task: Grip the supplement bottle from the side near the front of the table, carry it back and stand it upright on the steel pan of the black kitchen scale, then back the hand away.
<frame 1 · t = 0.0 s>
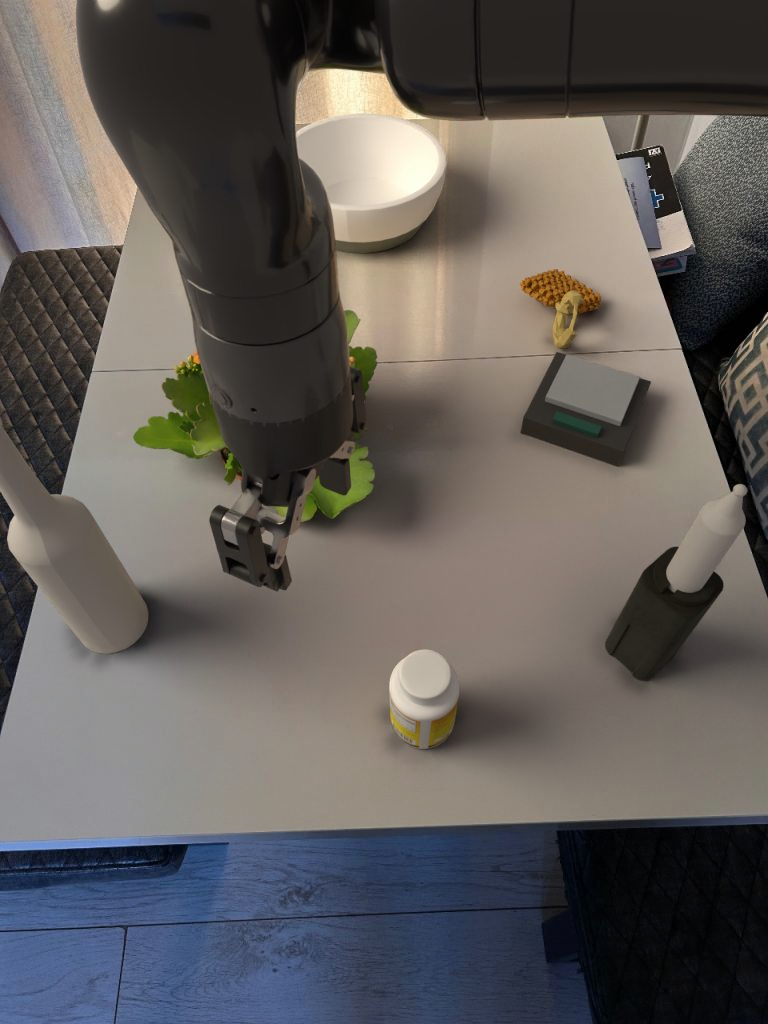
hand: (307, 533, 53), 20 cm above the table, tool pointing down, fingers open, 8 cm apart
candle: (638, 649, 70), on the table
bowl: (363, 216, 107), on the table
ornament: (558, 318, 95), on the table
potted flower: (263, 449, 83), on the table
supplement bottle: (421, 719, 66), on the table
scale: (583, 414, 85), on the table
bottle: (114, 622, 72), on the table
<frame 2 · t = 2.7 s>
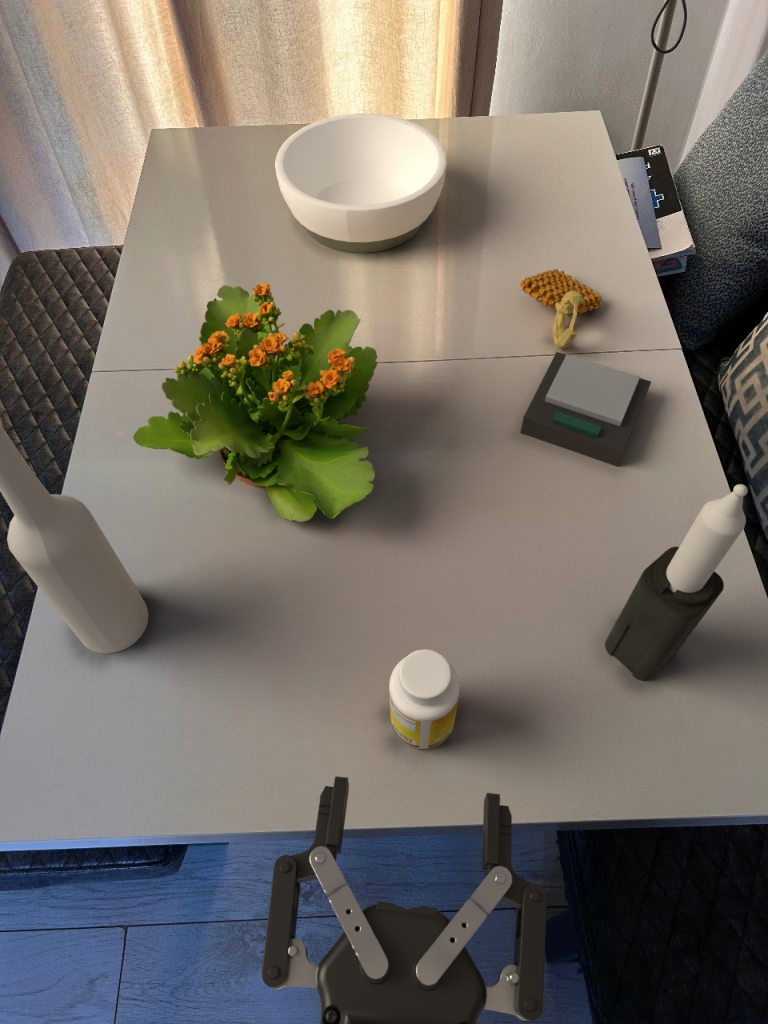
hand: (416, 788, 43), 20 cm above the table, tool horizontal, fingers open, 8 cm apart
nothing on the table moved.
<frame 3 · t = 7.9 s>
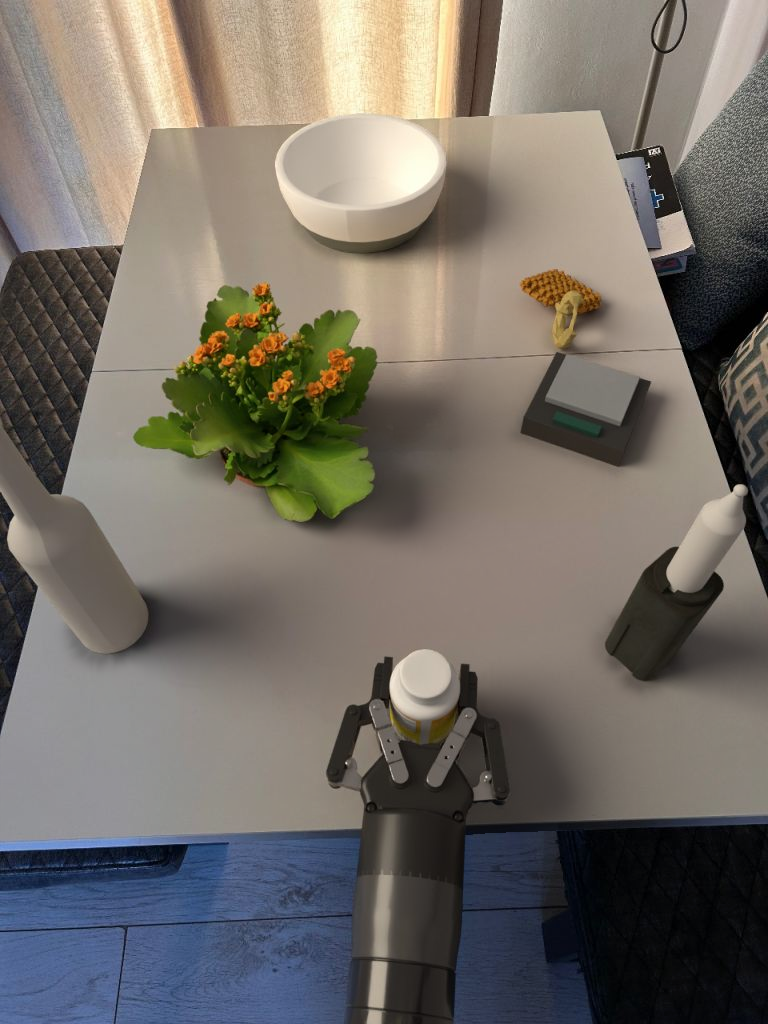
hand: (426, 664, 63), 6 cm above the table, tool horizontal, fingers closed on supplement bottle, 5 cm apart
supplement bottle: (421, 719, 66), on the table, touching gripper
everything else where it was.
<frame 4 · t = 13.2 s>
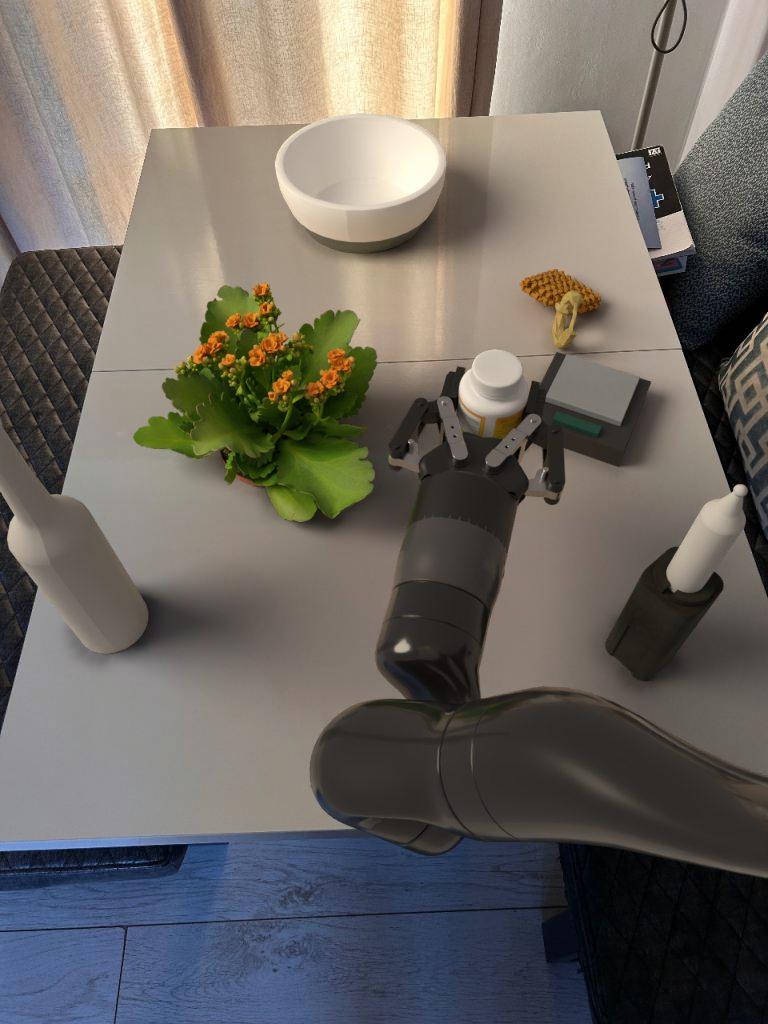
hand: (497, 381, 64), 18 cm above the table, tool horizontal, fingers closed on supplement bottle, 5 cm apart
supplement bottle: (483, 449, 68), point 12 cm above the table, touching gripper
everything else where it was.
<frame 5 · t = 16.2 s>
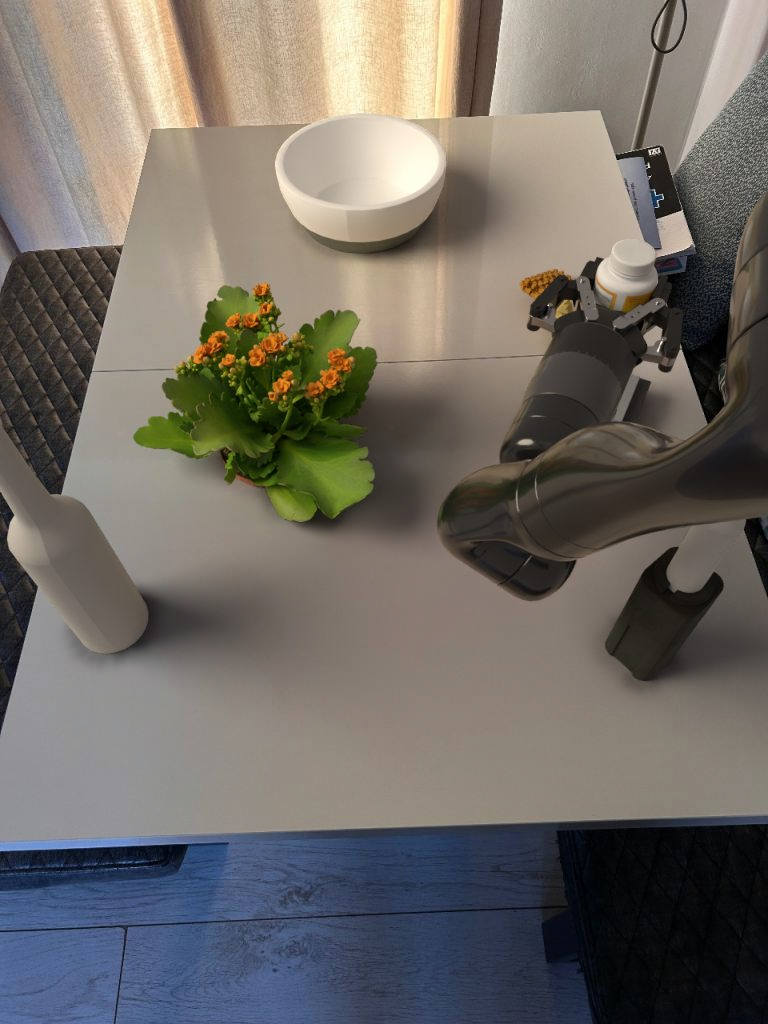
hand: (629, 274, 74), 17 cm above the table, tool horizontal, fingers closed on supplement bottle, 5 cm apart
supplement bottle: (607, 339, 77), point 10 cm above the table, touching gripper
everything else where it was.
when the fingers open (9 cm above the table, at t = 18.7 s): supplement bottle stays where it is, resting on scale.
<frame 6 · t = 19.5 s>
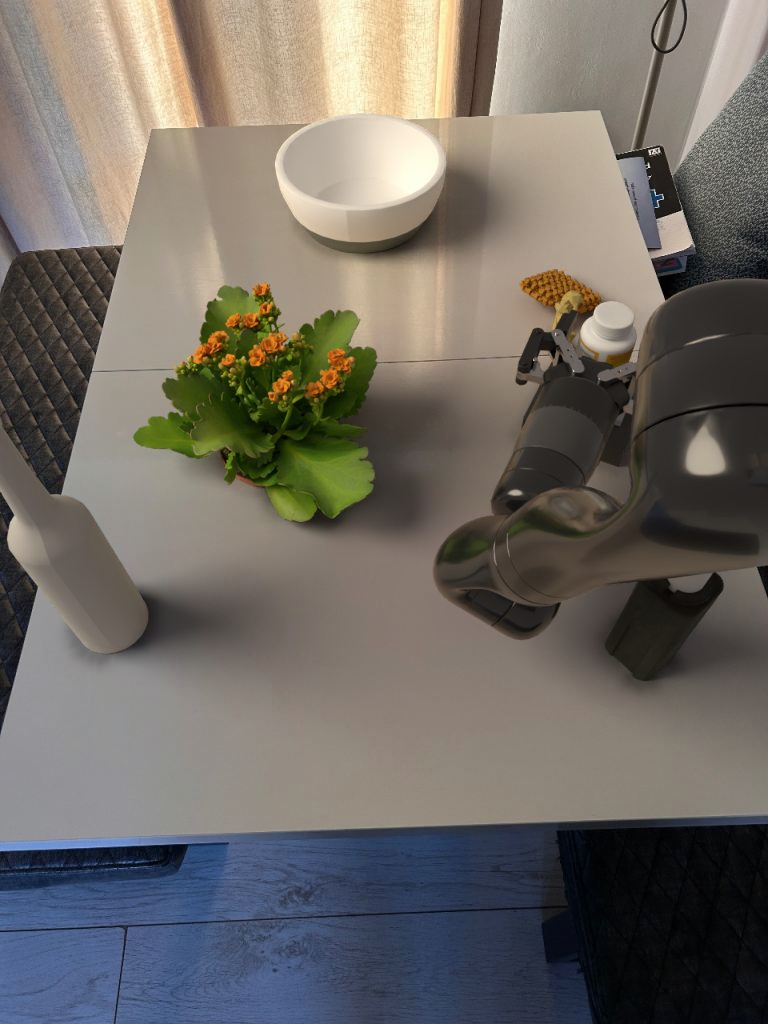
hand: (613, 328, 78), 10 cm above the table, tool horizontal, fingers open, 8 cm apart
supplement bottle: (592, 388, 83), point 3 cm above the table, touching scale
everything else where it was.
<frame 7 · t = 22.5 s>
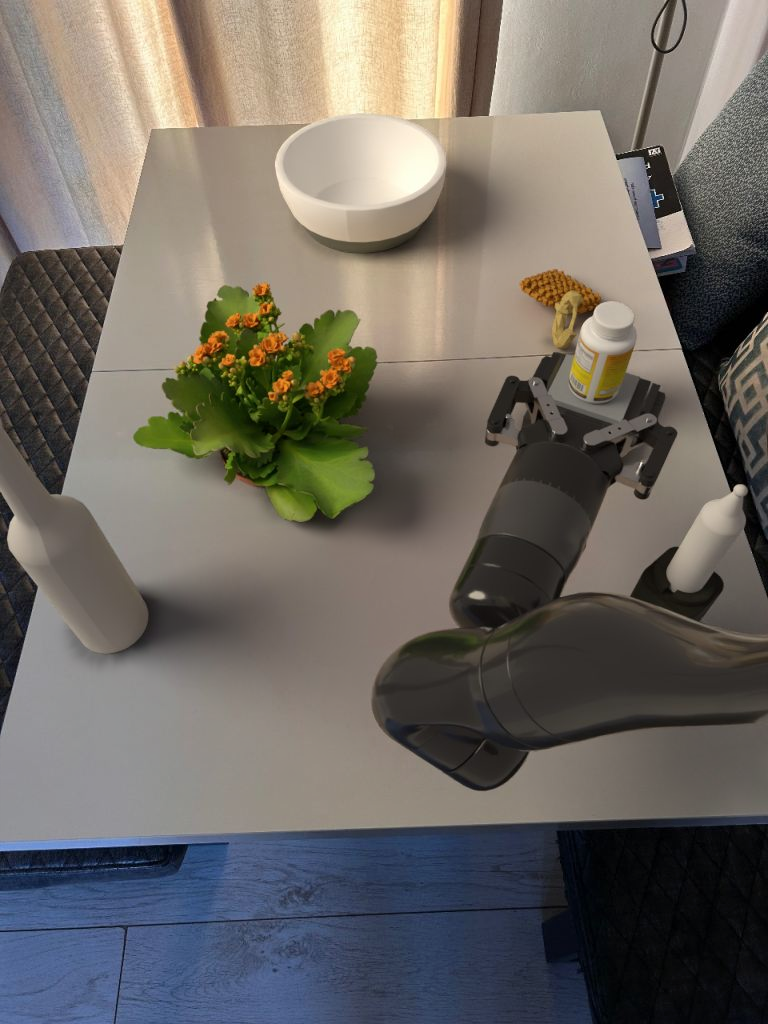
hand: (604, 374, 65), 17 cm above the table, tool horizontal, fingers open, 8 cm apart
nothing on the table moved.
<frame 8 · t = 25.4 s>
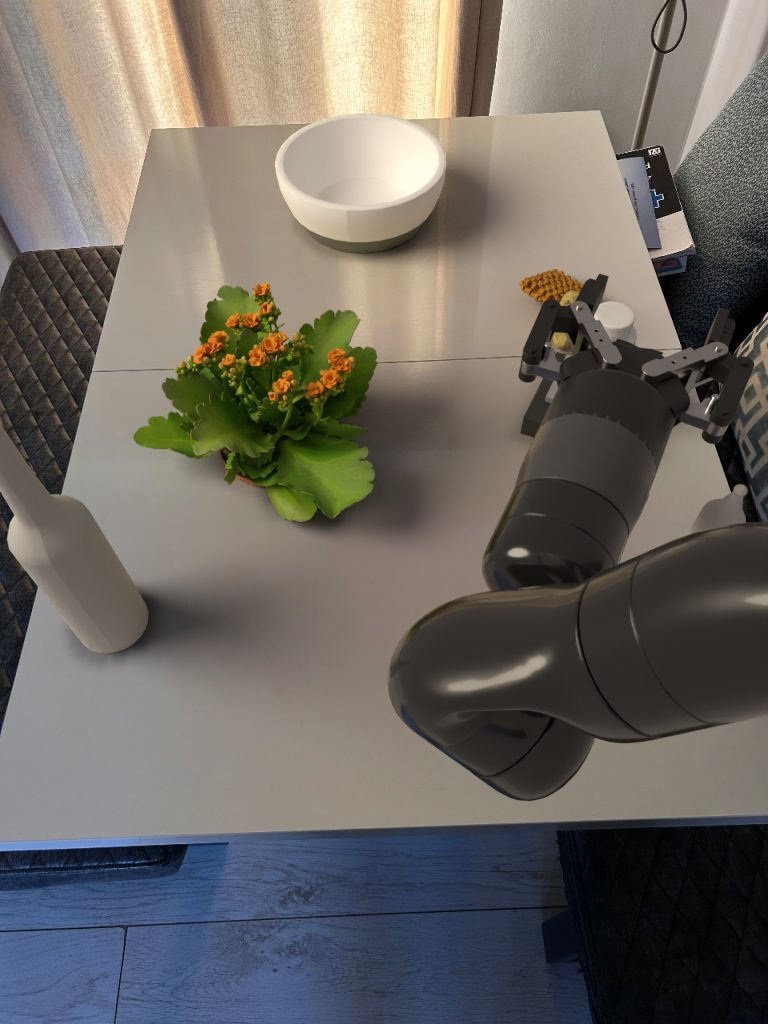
hand: (659, 301, 54), 28 cm above the table, tool horizontal, fingers open, 8 cm apart
nothing on the table moved.
at the end: supplement bottle inside the target area on the scale (0.1 cm from its centre), point 3.2 cm above the scale's base; supplement bottle tilted 0°; the gripper is holding nothing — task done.
